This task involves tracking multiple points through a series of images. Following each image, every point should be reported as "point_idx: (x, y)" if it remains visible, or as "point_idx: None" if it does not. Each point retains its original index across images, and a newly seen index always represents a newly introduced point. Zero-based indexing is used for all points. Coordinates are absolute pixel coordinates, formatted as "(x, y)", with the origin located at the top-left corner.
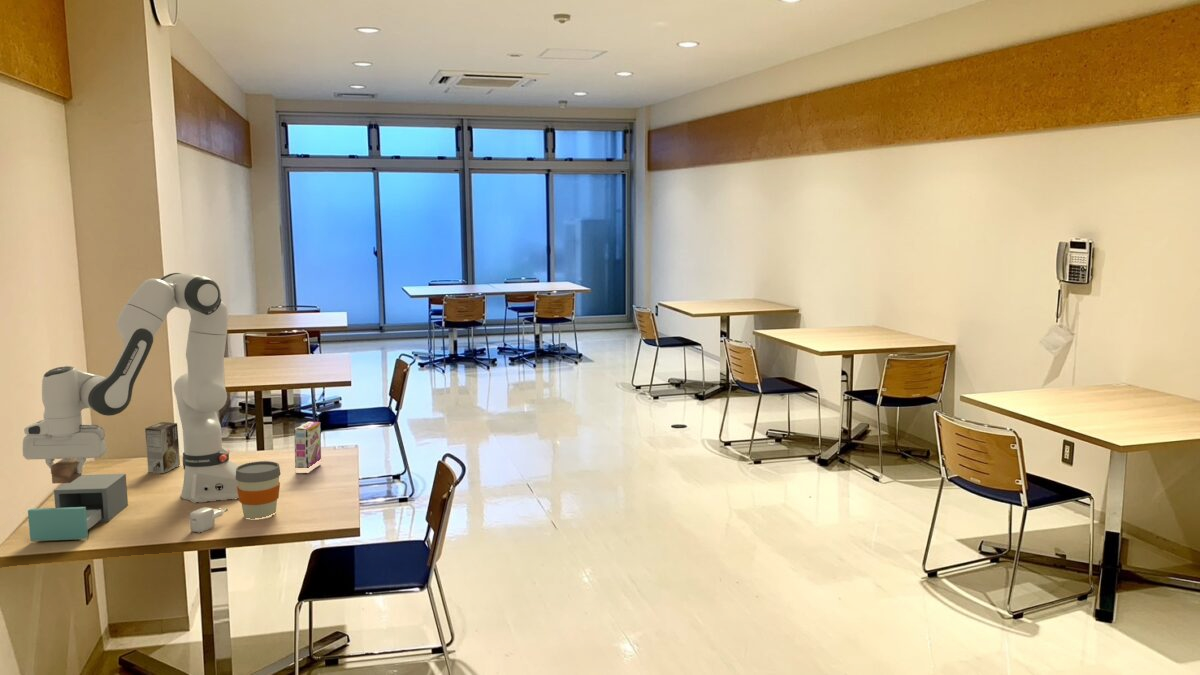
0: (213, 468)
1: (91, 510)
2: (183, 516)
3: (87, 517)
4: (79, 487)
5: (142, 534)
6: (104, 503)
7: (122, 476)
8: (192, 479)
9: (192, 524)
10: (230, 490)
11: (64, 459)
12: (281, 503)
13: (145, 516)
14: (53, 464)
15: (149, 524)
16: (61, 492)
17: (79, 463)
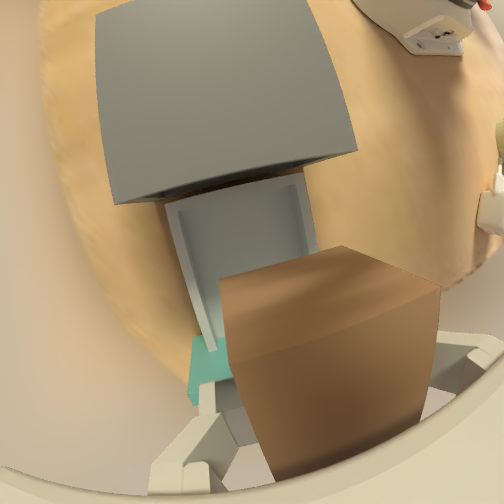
0: (465, 12)
1: (277, 186)
2: (438, 133)
3: (259, 192)
4: (216, 142)
5: (420, 247)
6: (318, 160)
7: (306, 2)
8: (431, 18)
9: (489, 230)
10: (452, 38)
11: (279, 388)
12: (501, 96)
13: (371, 124)
14: (212, 444)
15: (407, 183)
16: (150, 194)
17: (452, 391)
